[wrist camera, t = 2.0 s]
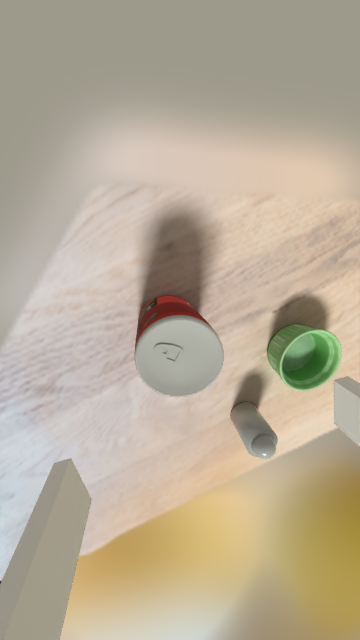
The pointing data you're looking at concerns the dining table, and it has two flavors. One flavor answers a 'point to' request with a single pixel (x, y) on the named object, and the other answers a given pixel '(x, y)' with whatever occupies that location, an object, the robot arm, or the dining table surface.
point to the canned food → (176, 348)
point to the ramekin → (304, 356)
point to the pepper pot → (254, 430)
